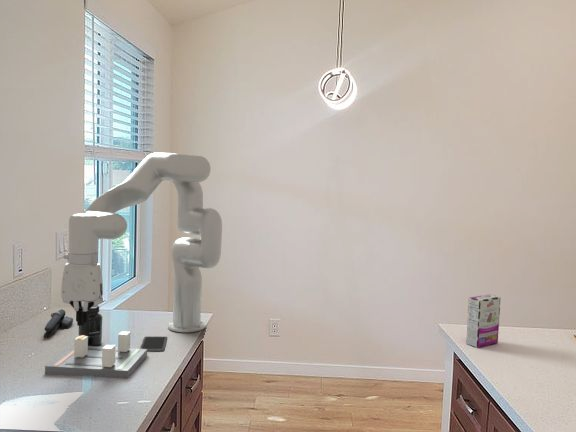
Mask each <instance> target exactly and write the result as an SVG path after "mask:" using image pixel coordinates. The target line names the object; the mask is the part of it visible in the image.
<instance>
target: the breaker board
mask: <svg viewBox="0 0 576 432" xmlns="http://www.w3.org/2000/svg"><path fill="white" fill-rule="evenodd" d="M103 347H104V346H88V354H87V355H85V356H84V357H74V344H73V345H72V346H70V347H69V348H67V349H65V351H64V352H62V353H61V354H59V355H58V356H57V357H56V358H54V359H53V360H51V361H49V362H48V363H47V364H46V365H44V374H46V375H47V374H49V375H65V376H66V375H67V376H82V377H85V376H86V377H99V378H100V377H101V378H103V377H104V378H117V379H118V378H119V379H128V378H130V376H131V375H132V374H133V372H134V371H136V369H137V368H138V367H139V366H140V365H141V363H142V362H144V360H145V359H146V358H147V357H148V352H147V349H140V348H134V347H133V348H131V347H130V349H129V350H128V351H127V352H118V347H116V353H115V364H114V365H113V366H112V367H102V348H103Z"/></svg>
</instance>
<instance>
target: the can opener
mask: <svg viewBox="0 0 576 432" xmlns="http://www.w3.org/2000/svg"><path fill="white" fill-rule="evenodd" d="M50 317H51V318H50V319H49V321H48V322H47V323H46V325H45V327H44V331H45V332H44V334H43V338H45V339H50V338H51V337H53V335H54V334H55V333H56V331H57V330H58V329H59V327H60V328H67V329H68V327H69V328H70V327H71V326H72V324H73V323H74V318H73V317H70V316H66V311H65V310H64V309H60V310H58V311H57V312H51V313H50Z"/></svg>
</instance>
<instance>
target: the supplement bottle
mask: <svg viewBox="0 0 576 432" xmlns="http://www.w3.org/2000/svg"><path fill="white" fill-rule="evenodd" d="M81 335H85V336H88V346H97V347H99V346H100V345H101V344H102V339H103V316H102V314H100V304H99V305H94V306H92V307H91V308H90V309H89V321H88V322H87V324H85V325H84V326H81V325H80V326H78V336H81Z"/></svg>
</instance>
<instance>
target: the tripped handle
mask: <svg viewBox="0 0 576 432" xmlns="http://www.w3.org/2000/svg"><path fill="white" fill-rule="evenodd" d="M73 345H74V357H84V356H85V355H87V354H88V336H85V335H81V336H79V335H77V337H75V338H74V343H73Z"/></svg>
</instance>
